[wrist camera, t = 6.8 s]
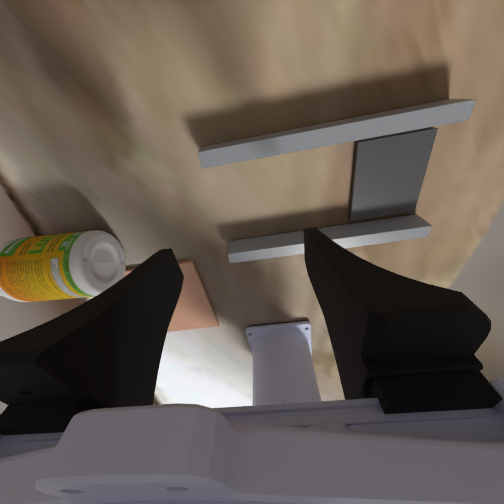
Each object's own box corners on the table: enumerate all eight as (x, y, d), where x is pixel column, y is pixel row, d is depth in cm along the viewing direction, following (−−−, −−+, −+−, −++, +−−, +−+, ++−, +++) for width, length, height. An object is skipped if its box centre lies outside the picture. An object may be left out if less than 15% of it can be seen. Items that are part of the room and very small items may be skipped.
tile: (219, 323, 27) (218, 326, 26) (143, 331, 28) (142, 334, 28) (192, 259, 21) (191, 262, 21) (98, 272, 22) (96, 275, 22)
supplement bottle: (66, 239, 15) (-64, 253, 15) (94, 308, 16) (-24, 318, 17) (117, 223, 20) (18, 234, 20) (134, 277, 21) (42, 286, 22)
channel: (413, 224, 19) (428, 236, 17) (231, 250, 20) (230, 263, 19) (449, 98, 14) (476, 99, 12) (203, 146, 15) (197, 152, 14)
